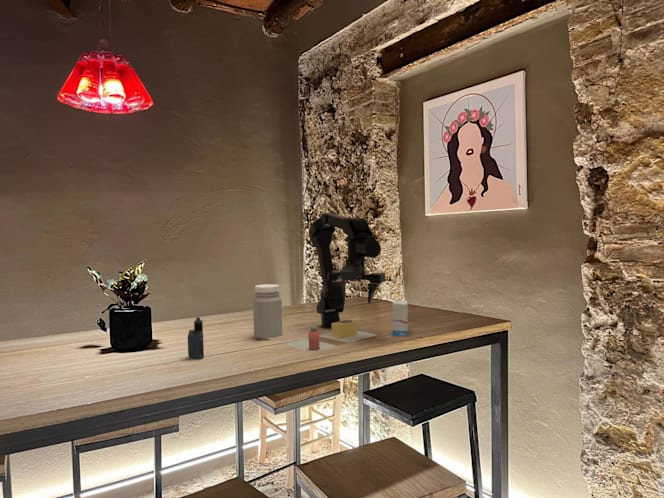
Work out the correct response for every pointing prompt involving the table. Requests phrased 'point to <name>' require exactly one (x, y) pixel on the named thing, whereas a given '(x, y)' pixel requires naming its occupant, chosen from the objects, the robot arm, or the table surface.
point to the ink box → (400, 318)
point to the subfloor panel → (328, 341)
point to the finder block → (344, 328)
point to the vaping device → (196, 340)
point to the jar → (267, 312)
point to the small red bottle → (314, 338)
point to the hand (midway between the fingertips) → (356, 302)
